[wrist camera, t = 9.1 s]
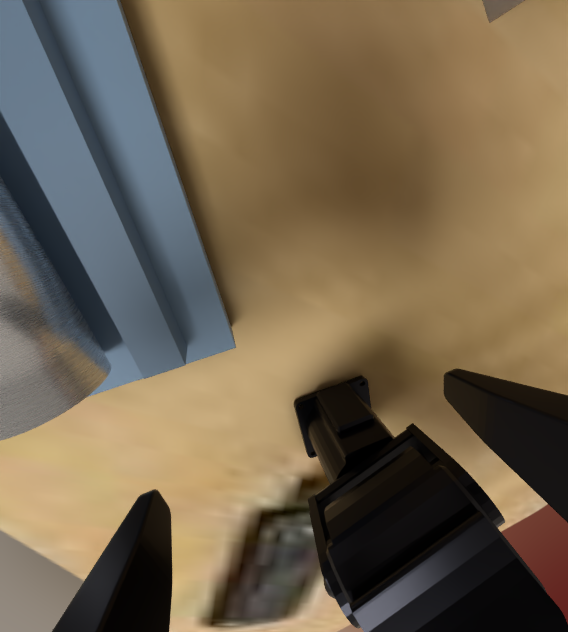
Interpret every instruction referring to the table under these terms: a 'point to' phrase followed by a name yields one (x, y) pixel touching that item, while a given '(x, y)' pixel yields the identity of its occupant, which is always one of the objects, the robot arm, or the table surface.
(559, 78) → the table surface
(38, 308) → the axle
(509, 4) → the surgical sutures box
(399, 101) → the table surface
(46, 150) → the cradle
